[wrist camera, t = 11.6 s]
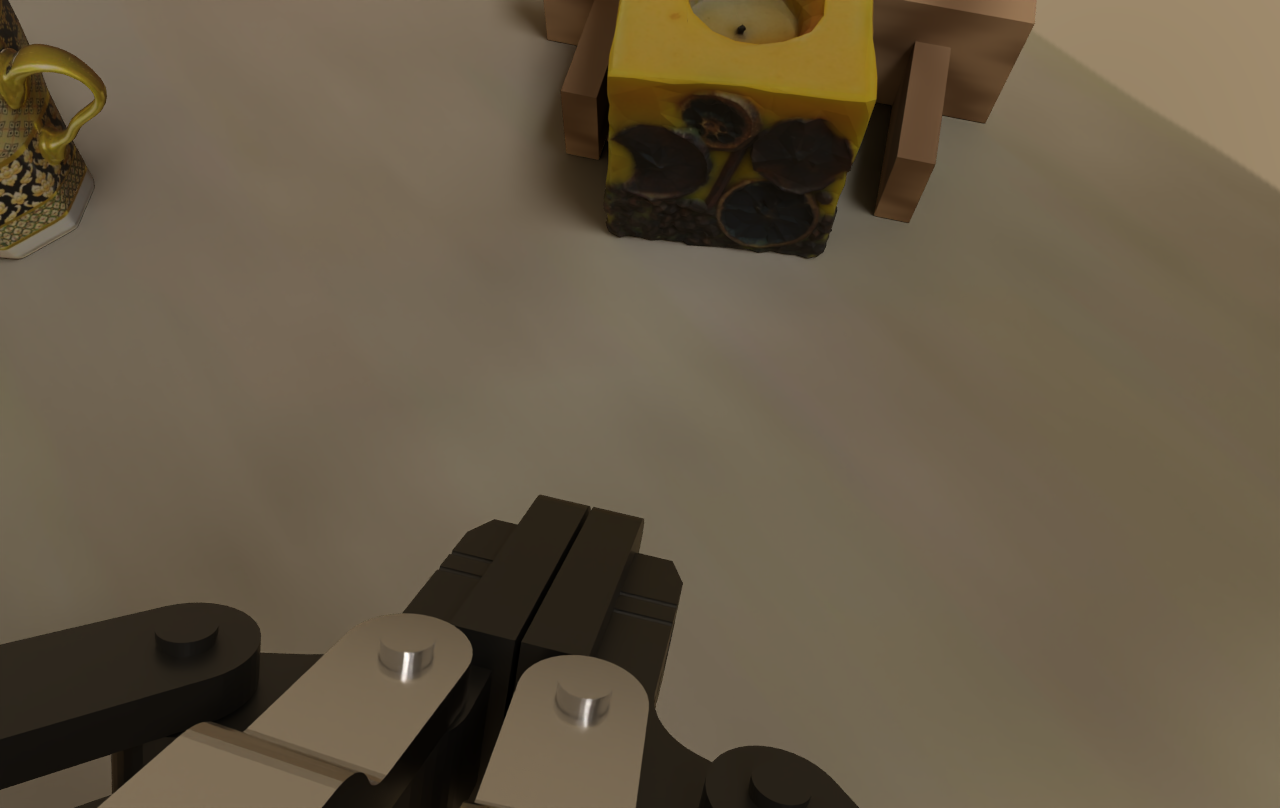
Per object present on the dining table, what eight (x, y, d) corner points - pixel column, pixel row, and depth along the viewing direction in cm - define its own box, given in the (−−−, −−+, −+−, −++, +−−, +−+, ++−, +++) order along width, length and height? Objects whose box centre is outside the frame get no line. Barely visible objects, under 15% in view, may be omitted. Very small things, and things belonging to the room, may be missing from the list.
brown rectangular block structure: (987, 98, 45) (1036, -3, 40) (972, 235, 42) (1024, 145, 36) (556, 17, 47) (547, -90, 42) (507, 141, 44) (490, 42, 38)
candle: (627, 72, 46) (627, -117, 37) (831, 91, 46) (881, -95, 36) (600, 240, 42) (592, 73, 33) (825, 263, 41) (880, 100, 32)
